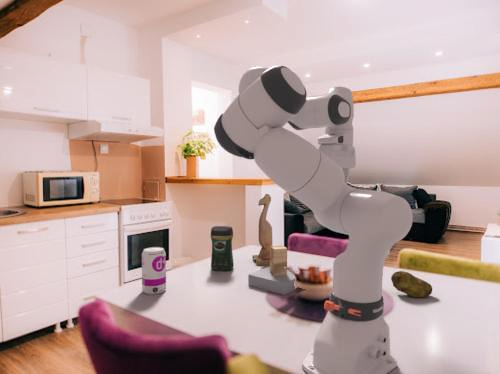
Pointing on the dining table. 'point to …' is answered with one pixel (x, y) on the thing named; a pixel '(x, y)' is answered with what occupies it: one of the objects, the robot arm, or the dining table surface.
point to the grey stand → (272, 281)
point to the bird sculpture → (264, 234)
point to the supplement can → (153, 270)
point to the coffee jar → (222, 248)
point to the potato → (411, 284)
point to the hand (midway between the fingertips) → (338, 182)
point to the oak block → (278, 260)
